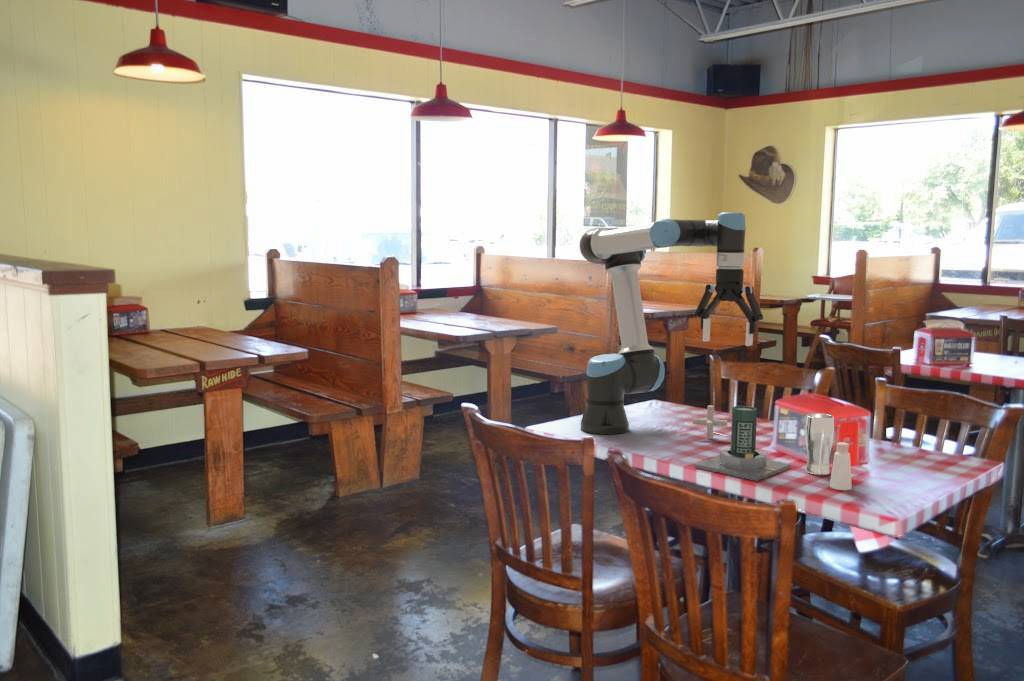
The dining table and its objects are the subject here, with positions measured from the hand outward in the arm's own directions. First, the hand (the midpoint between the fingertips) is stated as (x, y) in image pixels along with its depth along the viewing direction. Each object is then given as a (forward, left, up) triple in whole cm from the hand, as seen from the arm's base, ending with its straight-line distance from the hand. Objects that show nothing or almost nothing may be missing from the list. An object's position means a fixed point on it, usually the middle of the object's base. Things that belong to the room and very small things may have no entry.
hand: (727, 343), depth 244 cm
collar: (+14, -14, -31) cm, 37 cm away
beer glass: (+30, -4, -31) cm, 43 cm away
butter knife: (-20, +18, -31) cm, 42 cm away
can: (+14, -14, -30) cm, 36 cm away
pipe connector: (-10, +9, -31) cm, 34 cm away
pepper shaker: (+40, -13, -31) cm, 52 cm away
